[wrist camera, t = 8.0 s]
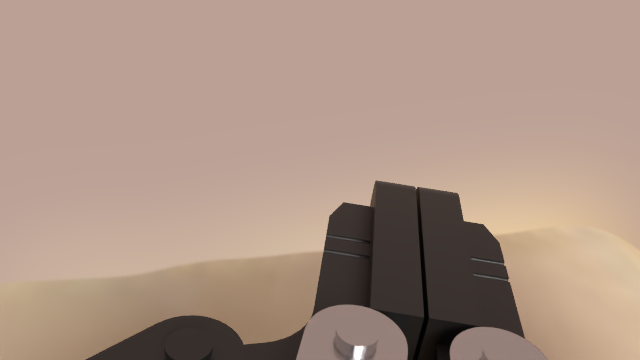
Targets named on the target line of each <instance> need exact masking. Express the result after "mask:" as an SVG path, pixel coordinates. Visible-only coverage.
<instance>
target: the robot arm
mask: <svg viewBox="0 0 640 360" xmlns="http://www.w3.org/2000/svg"><path fill="white" fill-rule="evenodd" d="M508 279H509V277H508V274H507V270H506V266H504V259H503V255H502V251H501V247H500V244H499V242H498V241H497V240H496V238H495V237H494V236H493V235H492V234H491V233H490V232H489V230H488V229H487V228H486V227H485V226H484V225H483V224H478V223H471V222H465V221H463V215H462V210H461V205H460V199H459V195H458V194H457V193H453V192H447V191H440V190H434V189H427V188H420V187H418V188H417V189H416V188H415V187H413V186H407V185H401V184H395V183H388V182H382V181H375V185H374V189H373V194H372V199H371V205H370V207H369V206H363V205H356V204H350V203H343V204H342V205H341V206H340V207H338V208H337V209H336V210H335V211H334V212H333V214H331V215H330V217H329V223H328V229H327V235H326V241H325V247H324V253H323V258H322V264H321V270H320V276H319V282H318V288H317V294H316V300H315V306H314V311H313V314H312V316H311V318H310V320H309V322H308V323H307V324H306V325H305V326H304V327H303V328H302V329H301V330H300V331H298V332H297V333H295V334H293V335H291V336H289V337H287V338H284V339H281V340H278V341H274V342H267V343H257V344H246V345H243V342H242V340H241V339H240V337H239V335H238V334H237V333H236V332H235V331H234V330H233V329H232V328H230V327H229V326H228V325H226V324H224V323H222V322H220V321H218V320H215V319H212V318H208V317H203V316H180V317H174V318H170V319H167V320H164V321H162V322H159V323H157V324H155V325H153V326H151V327H149V328H147V329H145V330H143V331H141V332H139V333H137V334H135V335H133V336H131V337H129V338H127V339H125V340H123V341H122V342H120V343H118V344H116V345H114V346H112V347H110V348H108V349H106V350H104V351H102V352H100V353H98V354H96V355H94V356H92V357H90V358H88V359H86V360H548V359H547V357H546V356H545V355H544V354H543V353H542V352H541V351H540V350H539V349H538V348H537V347H536V346H534V345H533V344H532V343H530V342H529V341H527V340H526V339H525V337H524V334H523V330H522V326H521V322H520V319H519V315H518V311H517V307H516V304H515V300H514V296H513V292H512V289H511V285H510V282H508Z"/></svg>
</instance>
